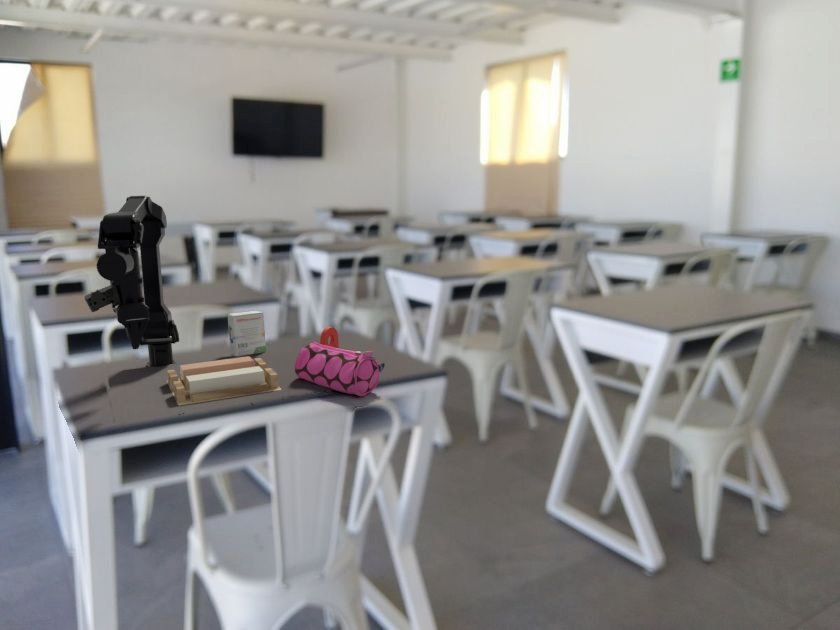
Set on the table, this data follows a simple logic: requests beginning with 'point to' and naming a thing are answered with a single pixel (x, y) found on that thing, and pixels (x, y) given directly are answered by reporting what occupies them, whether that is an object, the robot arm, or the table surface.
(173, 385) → the rack
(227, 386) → the long ivory plank
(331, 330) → the bracket
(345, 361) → the pencil case
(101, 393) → the table surface
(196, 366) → the fired brick
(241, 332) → the ink box
